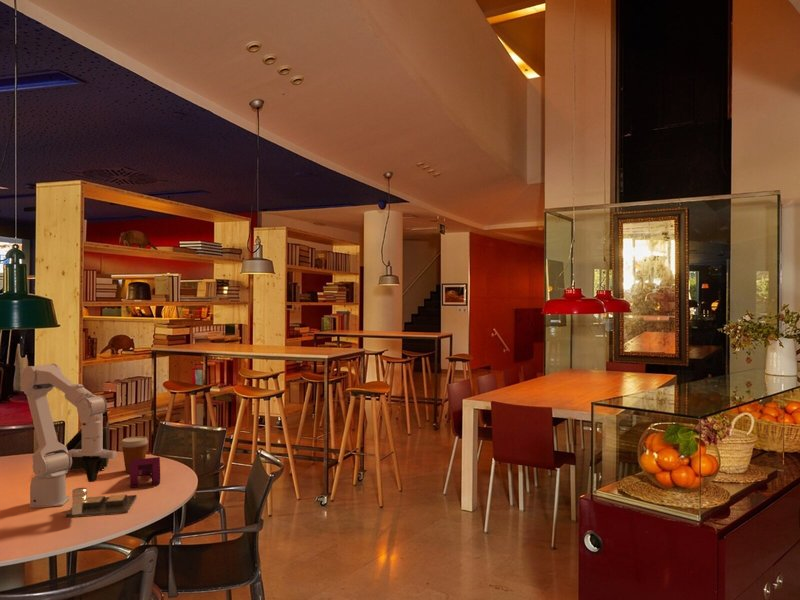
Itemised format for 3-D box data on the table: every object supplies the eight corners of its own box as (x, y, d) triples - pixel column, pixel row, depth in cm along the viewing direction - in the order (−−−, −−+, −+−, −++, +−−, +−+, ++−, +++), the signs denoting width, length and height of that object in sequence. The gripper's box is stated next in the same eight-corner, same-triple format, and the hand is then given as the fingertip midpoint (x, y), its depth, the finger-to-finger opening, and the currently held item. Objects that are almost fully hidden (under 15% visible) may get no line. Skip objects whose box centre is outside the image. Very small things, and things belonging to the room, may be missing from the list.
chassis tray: (65, 517, 181) (65, 508, 181) (79, 502, 194) (79, 493, 194) (127, 512, 184) (127, 503, 184) (136, 498, 198) (136, 489, 198)
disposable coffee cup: (142, 474, 225) (141, 442, 225) (116, 474, 225) (116, 442, 225) (152, 467, 234) (152, 436, 234) (127, 467, 234) (127, 436, 234)
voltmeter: (63, 464, 239) (62, 413, 239) (109, 460, 246) (108, 410, 246) (57, 475, 224) (57, 421, 224) (106, 470, 231) (106, 417, 231)
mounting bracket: (129, 494, 220) (130, 485, 206) (128, 471, 224) (130, 460, 209) (157, 490, 225) (160, 481, 210) (156, 467, 228) (159, 456, 213)
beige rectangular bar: (72, 498, 189) (72, 488, 189) (87, 496, 191) (87, 486, 191) (69, 515, 174) (69, 504, 174) (84, 513, 176) (84, 502, 176)
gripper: (122, 434, 189) (122, 478, 189) (78, 432, 190) (78, 476, 190) (108, 439, 182) (108, 485, 182) (63, 438, 183) (63, 483, 183)
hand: (92, 481), depth 186 cm, fingers closed
